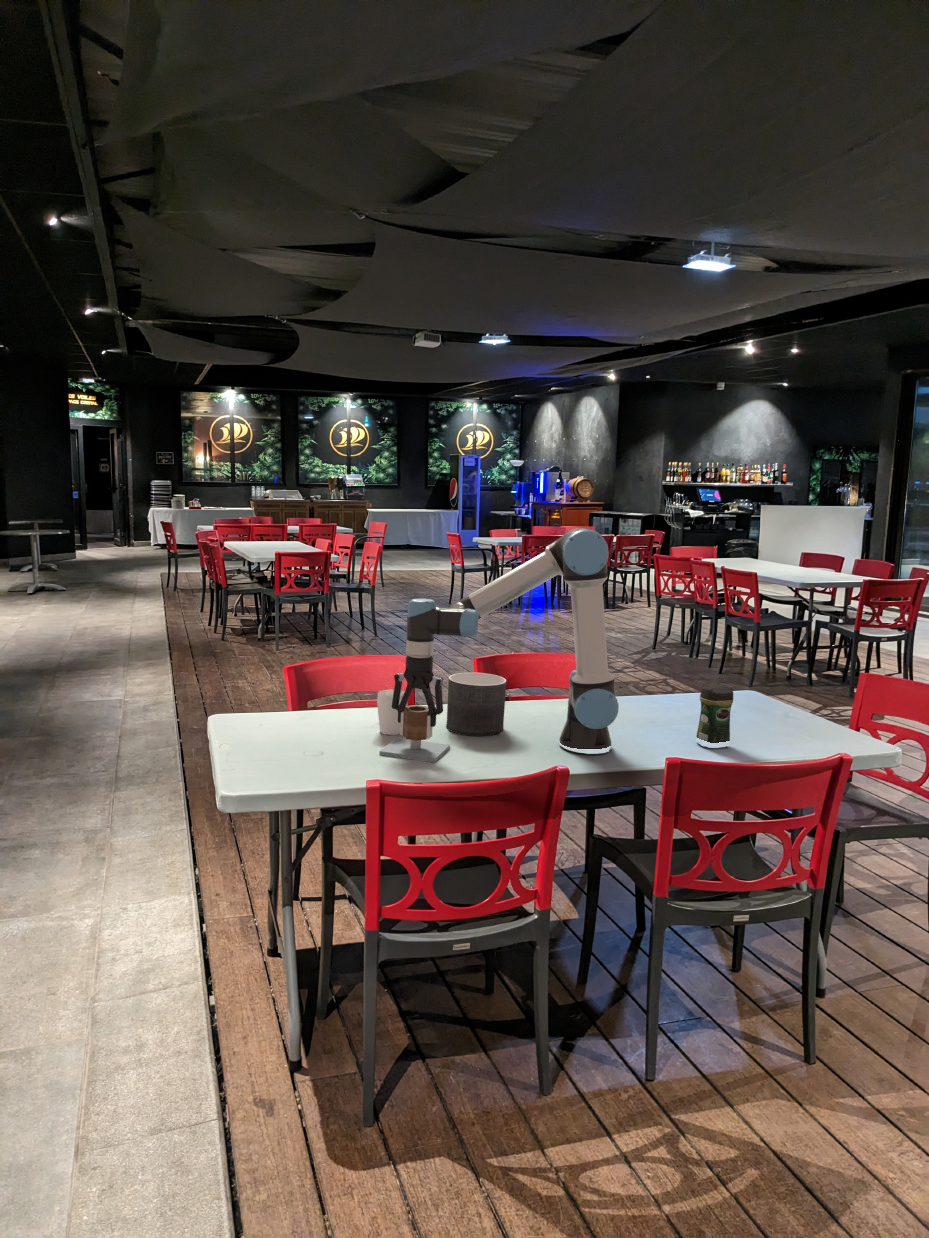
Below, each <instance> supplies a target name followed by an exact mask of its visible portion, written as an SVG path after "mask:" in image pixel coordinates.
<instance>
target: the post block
mask: <svg viewBox="0 0 929 1238" xmlns="http://www.w3.org/2000/svg"><path fill="white" fill-rule="evenodd" d="M450 749H451V744H446V743H439V742H432V741H425V740H417V741H416V740H409V739H406V738H404V737H403V738H402V737H396V738H395V739H393V740H392V741H391V742H390V743H388V744H386V746H384V747H383V748H381V749H380V750H379V755H380V756H387V757H393V758H400V759H406V760H414V761H420V762H421V761H422V762H427V763H428V762H429V763H434V764H435V763H436V762H437V761H439V759H440V758H441V757H442V756H443V755H445V754H446V753H447V752H448V751H449V750H450Z"/></svg>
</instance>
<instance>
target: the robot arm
mask: <svg viewBox="0 0 929 1238" xmlns="http://www.w3.org/2000/svg"><path fill="white" fill-rule="evenodd" d="M609 552H610V551H609V545H608V542H607V541H606V539H605V538H604V536H603V535H602V534H601V533H599V532H598V531H596V530H594V529H591V528H588V527H579V526H578V527H575V528H572V529H569V530H568V531H567V532H565V534H563V535H562V536H561V537H559V538H558V539H555V541H553V542H551V543H550V544H548V545H547V546H545V550H544V551H543V552H541V553H539V554H538V555H537V556H534V557H532V558H531V559H529V560H528V561H526V562H523V563H522V564H520V565H519V566H517V567H515V568H513V569H512V570H510V571H508V572H506V573H505V574H503V575H501V576H500V577H498V578H496V579H493V580H492V581H491V582H489V583H488V584H485V585H484V586H481V587H480V588H479V589H477V590H475V591H473V592H472V593H469V594H468V595H467V596H465V597H462V598H461V599H460V600H455V601H453V602H452V603H450V604H449V606H448V607H439V606H437V605H436V604H437V603H436V601H435V600H434V599H431V598H412V599H410V600H409V601H408V605H407V606H408V607H407V616H406V618H407V619H406V643H405V644H406V645H405V654H407V655H406V656H405V670H404V672H402V673H401V672H398V673H396V674H393V675H394V676H393V678H394V688H393V690H394V694H393V700H392V709H396V710H397V711H398V723H401V728H400V734H399V735H400V736H402V737H403V713H404V708H405V706H406V704H407V705H408V701H409V699H410V697H411V694H412V692H413V690H414V689H418V690H421V691H422V693H423V696H424V698H425V701H426V707H428V709H429V712H430V714H429V715H428V716H427V738H426V740H429V739H431V738H432V737H433V728H434V727H436V724H437V715H439V716H440V714H442V713H443V712H444V702H443V689H442V687H443V686H442V685H443V682H444V678H443V677H436V676H435V675H434V672H433V669H434V667H433V666H434V657H433V655H434V646H435V645H434V644H435V636H453V637H454V636H455V637H463V638H469V637H472V638H473V637H476V636H477V635H478V632H479V629H478V628H479V620H480V619H482V618H483V617H485V616H487V615H488V614H491V613H492V612H493V611H496V610H497V609H500V608H502V607H503V606H505V605H507V604H508V603H510V602H512V601H513V600H515V599H518V598H519V597H521V596H522V595H524V594H526V593H528V592H530V591H532V590H533V589H536V587H539V586H541V585H542V584H544V583H545V582H547V581H550V580H551V579H552V578H554V577H556V576H561V577H563V578H564V579H563V581H564V582H565V583H566V584H567V585H568V586H569V587H570V597H571V599H570V600H571V613H572V625H573V638H574V639H573V641H574V655H575V667H576V668H575V669H573V670H572V671H571V672H570V674H569V675H570V676H569V679H568V681H569V685H568V686H569V687H568V688H569V689H568V698H567V699H568V700H567V714H566V715H567V716H566V721H565V723H564V726H563V728H562V731H561V734H560V735H559V741H560V743H561V744H562V745H564V746H567V747H570V748H577V749H602V748H607V747H609V746H611V747H612V739H611V735H610V731H609V726H611V725H612V723H614V721H615V720H616V718H617V716H618V714H619V708H620V707H619V701H618V699H617V697H616V684H615V675H614V674H613V673H611V672H610V670H609V665H608V649H607V648H608V646H607V633H606V632H607V631H606V618H605V617H606V615H605V603H604V590H603V589H604V588H603V584H604V583H605V582H606V580H607V579H608V565H607V564H608V559H609ZM404 679H405V681H406V683H407V684H406V687H405V690H404V691H405V693H404V695H403V697H402V700H401V702H400V705H399V699H400V693H401V690H402V686H403V681H404ZM431 682H433V685H434V694H435V695H434V697H435V700H434V698H433V694H432V691H431V690H432V689H431V685H430V684H431Z"/></svg>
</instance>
